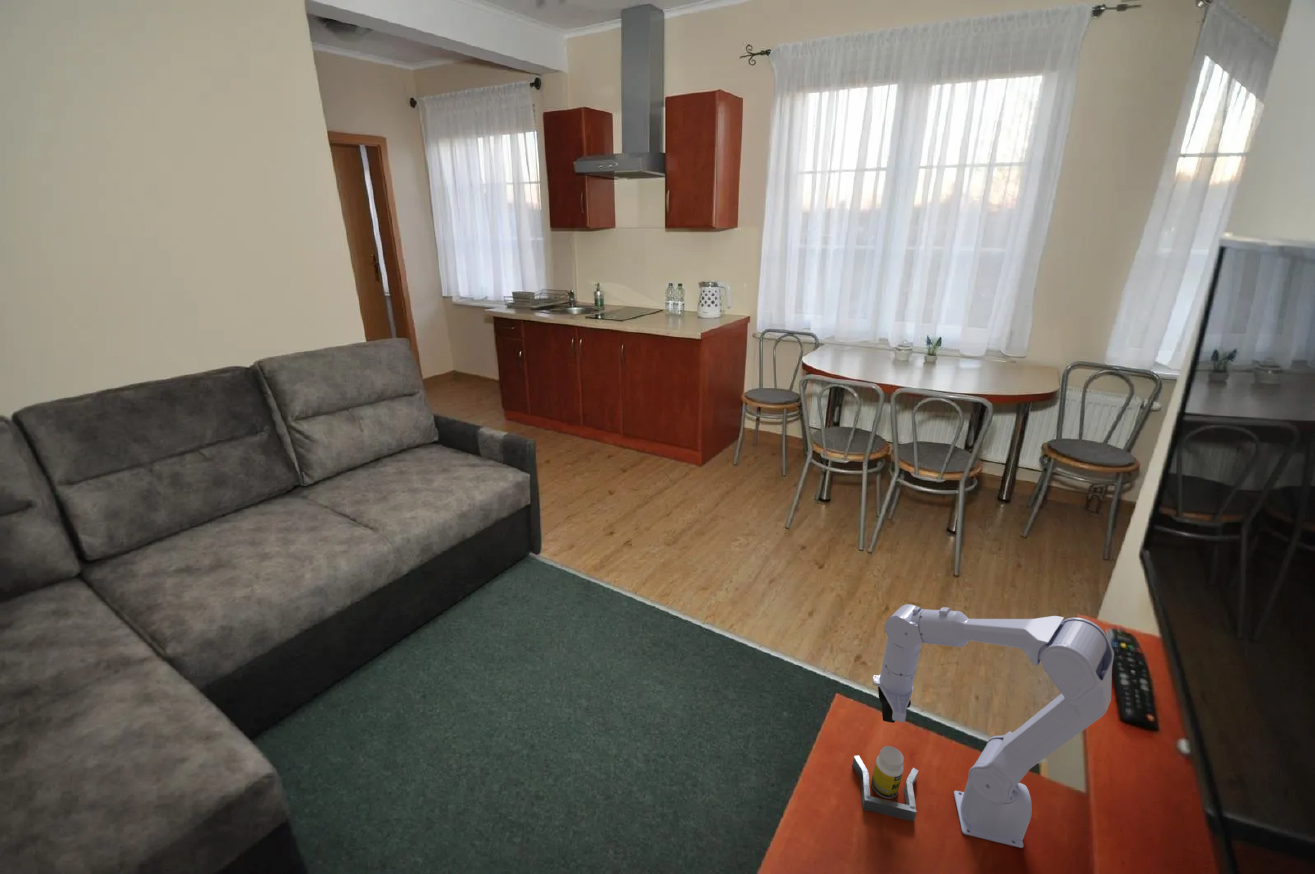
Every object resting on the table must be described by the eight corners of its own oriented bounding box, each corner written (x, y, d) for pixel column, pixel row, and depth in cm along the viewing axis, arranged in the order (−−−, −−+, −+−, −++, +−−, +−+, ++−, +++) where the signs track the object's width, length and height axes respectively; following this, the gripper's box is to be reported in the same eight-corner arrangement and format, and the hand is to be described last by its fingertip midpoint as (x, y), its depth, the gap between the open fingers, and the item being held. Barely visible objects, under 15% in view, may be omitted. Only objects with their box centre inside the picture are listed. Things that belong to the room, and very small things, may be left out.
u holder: (915, 777, 110) (918, 768, 109) (923, 824, 102) (925, 814, 101) (852, 763, 113) (853, 754, 112) (854, 807, 105) (856, 797, 104)
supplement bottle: (892, 805, 105) (900, 772, 102) (867, 789, 108) (873, 756, 105) (901, 785, 108) (909, 753, 105) (876, 770, 111) (883, 739, 108)
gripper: (873, 634, 115) (864, 686, 120) (879, 690, 102) (869, 746, 107) (912, 640, 113) (900, 693, 118) (923, 698, 100) (910, 755, 105)
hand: (888, 719), depth 112 cm, fingers closed
